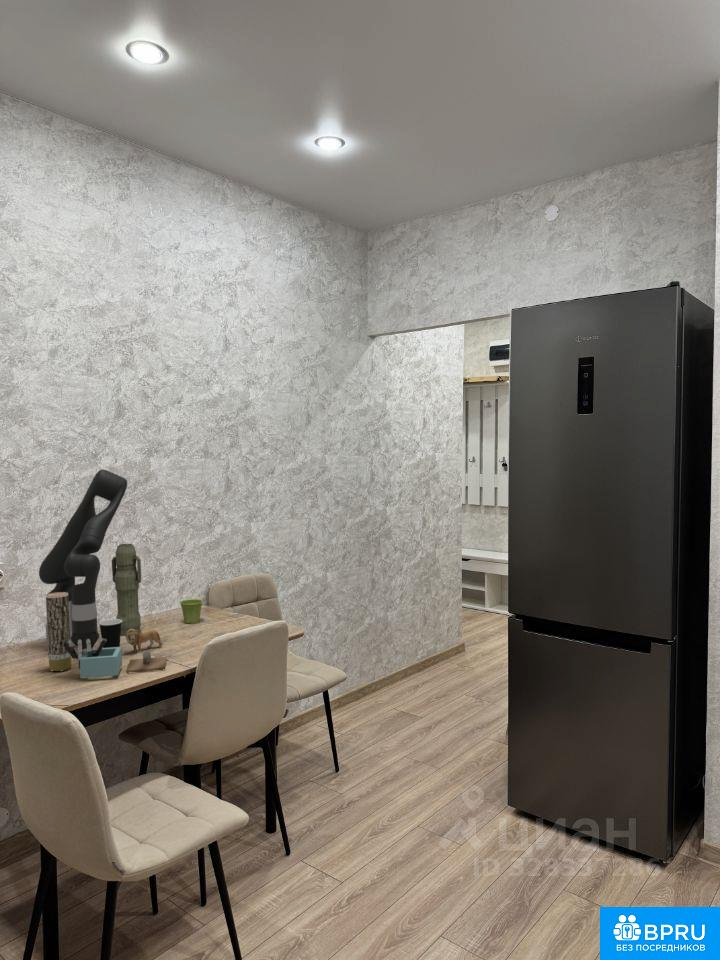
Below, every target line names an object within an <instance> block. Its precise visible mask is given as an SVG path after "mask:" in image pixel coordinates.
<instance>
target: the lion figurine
mask: <svg viewBox="0 0 720 960" xmlns="http://www.w3.org/2000/svg"><path fill="white" fill-rule="evenodd" d="M125 640H126V642H127V643H128V644H129V645H131V646H133V650H132V653H135V652H136V651H137V654H141V653H142V644H144V643H147V642H149V643H150V644H149V645H148V646H147V649H150V648H152V647H153V645H154V644H155V643H156V644H159V645H158V646H157V649H158V648H159V649H161V648H162V645H163V642H162V641H161V637H160V634H159V632H158V630H155V629H150V630H147V631H145V632H139V631H138V630H135V629H129V630H128V631H127V632H126V636H125ZM154 642H155V643H154Z"/></svg>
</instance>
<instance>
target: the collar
mask: <svg viewBox="0 0 720 960" xmlns="http://www.w3.org/2000/svg"><path fill="white" fill-rule="evenodd" d="M97 649H98V647H97V648H93V653H95V652H96V651H97ZM122 666H123V649H122V646H120V647H111V648H102V650H101V651H100V653H99V655H98V656H97V657H88V653H87V649H85V650H84V654H83V655H82V657H81V658H80V670H79V673H80V679H85V678H86V679H88V678H99V677H100V678H101V677H114V676H118V675H119V673H120V671H121V668H122Z"/></svg>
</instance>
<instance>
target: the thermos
mask: <svg viewBox="0 0 720 960" xmlns="http://www.w3.org/2000/svg"><path fill="white" fill-rule="evenodd" d="M111 574H112V575H111V576H112V582H114V588H115V591H116V604H117V608H116V609H117V616H116V618H115V619H120V620H122V622H121V635H120V637H126V632H127V631H128V630H129V629H135V630H138V631H139V632H141V624H142V622H141V614H140V611H139V610H140V609H139V608H140V607H139V588H140V583H141V582H142V563H141V558H140V557H139V556H138V555H137V550H136V548H135V546H134V544H132V543H119V545H117V546H116V549H115V556H113V557H112V559H111Z"/></svg>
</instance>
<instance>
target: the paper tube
mask: <svg viewBox="0 0 720 960" xmlns="http://www.w3.org/2000/svg"><path fill="white" fill-rule="evenodd" d="M45 605H46V606H45V607H46V608H45V610H46V624H47V634H48V650H47V652H48V668H49V669H50V670H53V671H60V672H62V671H61V670H65V671H67V670H66V669H68V670H70V669H71V668H72V657H71V655H70V654H69V653H68V651H67V650H66V649H65V647H64V646H63V644H64V643H65V641H68V640H70V622H69V599H68V593H67V592H57V593H50V594H48V593H46V595H45ZM69 668H70V669H69ZM50 670H49V671H50Z"/></svg>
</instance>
